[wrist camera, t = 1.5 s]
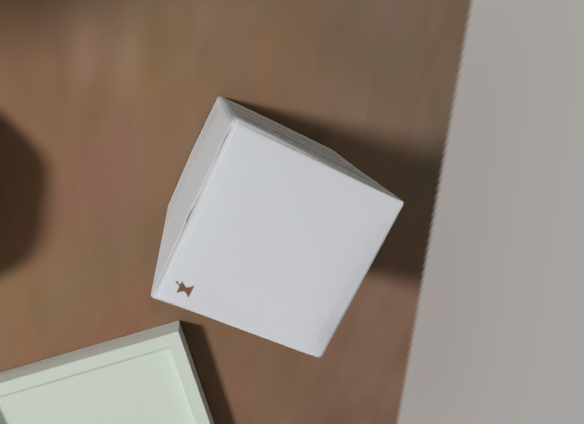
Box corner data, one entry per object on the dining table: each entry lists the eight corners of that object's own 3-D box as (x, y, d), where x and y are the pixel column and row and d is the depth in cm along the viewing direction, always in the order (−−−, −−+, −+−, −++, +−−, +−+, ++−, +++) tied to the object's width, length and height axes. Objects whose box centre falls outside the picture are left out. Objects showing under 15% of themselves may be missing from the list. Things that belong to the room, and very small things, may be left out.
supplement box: (278, 255, 34) (320, 367, 22) (164, 206, 32) (141, 300, 20) (334, 147, 33) (412, 203, 21) (219, 89, 31) (230, 114, 19)
